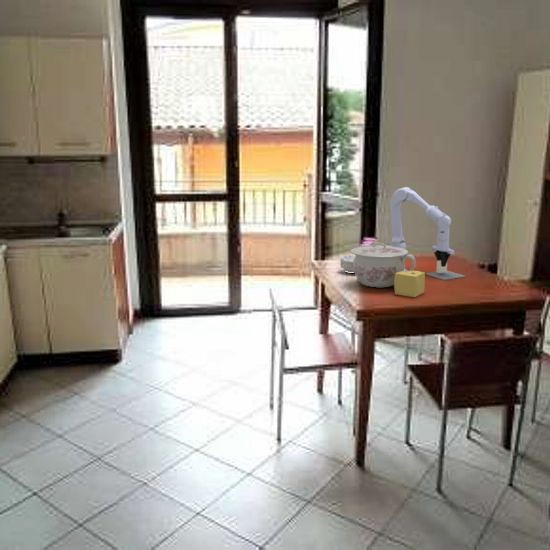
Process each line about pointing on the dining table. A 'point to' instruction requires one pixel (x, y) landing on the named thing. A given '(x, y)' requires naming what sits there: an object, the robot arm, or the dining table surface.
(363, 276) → the chamber pot
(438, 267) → the block
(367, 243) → the gum box
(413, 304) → the dining table surface
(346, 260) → the paper bowls
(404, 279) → the cheese
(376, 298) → the dining table surface
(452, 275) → the mat
